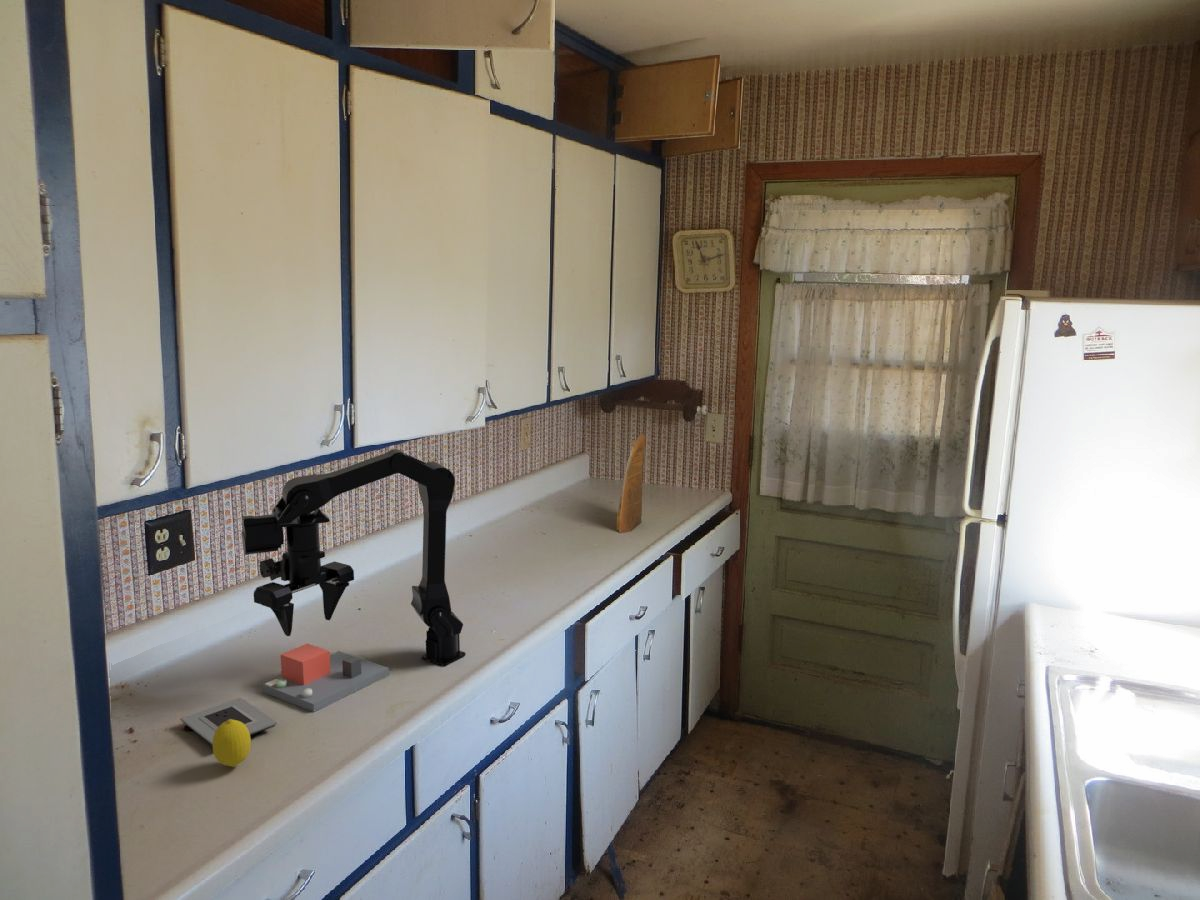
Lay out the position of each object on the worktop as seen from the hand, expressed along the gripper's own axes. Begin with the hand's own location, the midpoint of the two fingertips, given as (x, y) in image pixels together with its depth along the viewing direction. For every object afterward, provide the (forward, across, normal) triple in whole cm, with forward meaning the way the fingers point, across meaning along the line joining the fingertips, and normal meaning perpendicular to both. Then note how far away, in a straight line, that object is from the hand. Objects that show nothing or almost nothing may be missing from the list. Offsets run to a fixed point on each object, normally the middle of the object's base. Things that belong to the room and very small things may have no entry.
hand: (308, 627), depth 170 cm
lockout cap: (+9, +1, 0) cm, 9 cm away
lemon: (+11, +27, +14) cm, 32 cm away
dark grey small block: (+9, -4, +7) cm, 12 cm away
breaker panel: (+11, -1, +3) cm, 11 cm away
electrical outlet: (+11, +20, +3) cm, 23 cm away
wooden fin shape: (+12, -126, -6) cm, 127 cm away
